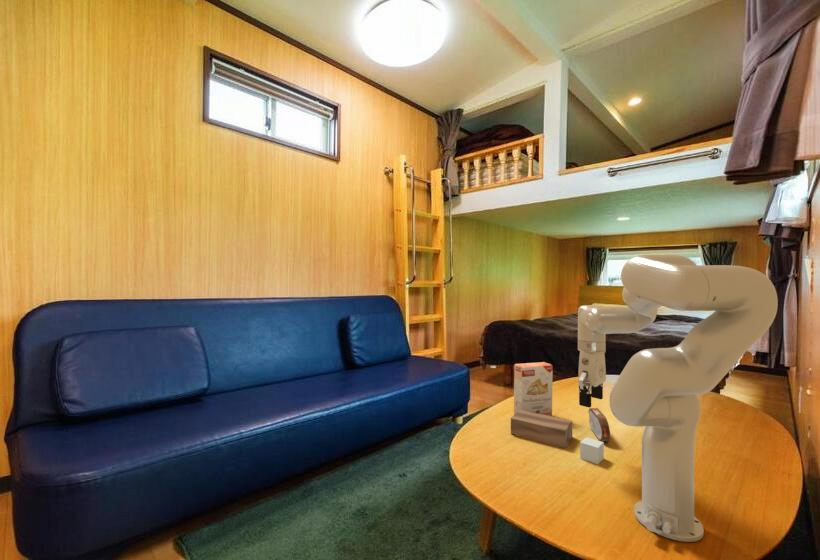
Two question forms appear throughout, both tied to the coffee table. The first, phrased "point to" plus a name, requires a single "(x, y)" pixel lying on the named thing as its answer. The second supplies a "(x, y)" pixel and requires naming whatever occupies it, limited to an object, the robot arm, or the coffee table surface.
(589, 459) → the white cube
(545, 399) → the cracker box
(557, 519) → the coffee table surface
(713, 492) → the coffee table surface
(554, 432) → the walnut block
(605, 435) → the tin
